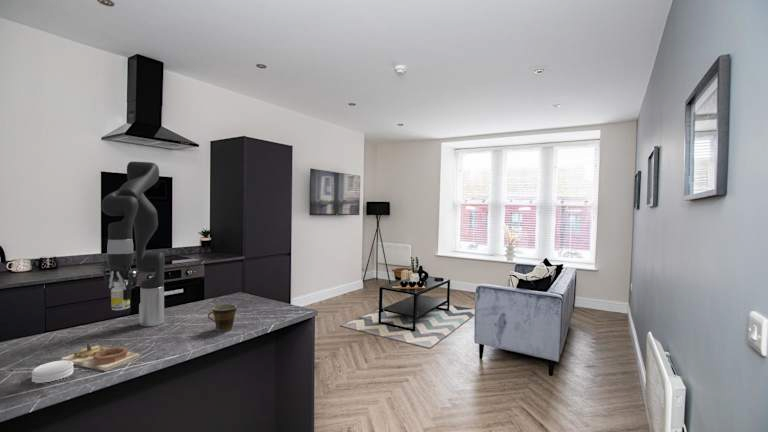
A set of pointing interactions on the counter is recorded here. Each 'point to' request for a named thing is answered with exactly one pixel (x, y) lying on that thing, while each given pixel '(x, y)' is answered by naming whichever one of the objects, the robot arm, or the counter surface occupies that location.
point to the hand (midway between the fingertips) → (120, 298)
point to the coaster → (52, 371)
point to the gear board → (101, 357)
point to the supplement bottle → (118, 297)
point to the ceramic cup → (224, 316)
